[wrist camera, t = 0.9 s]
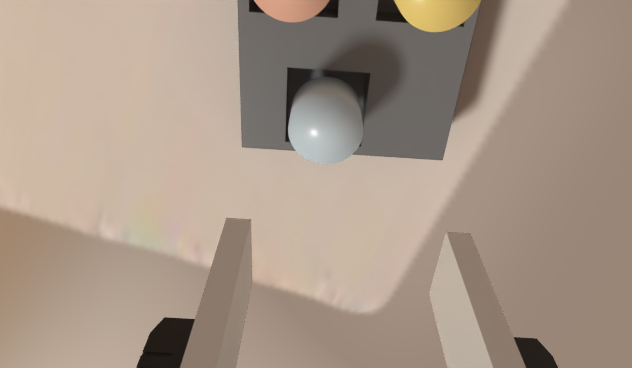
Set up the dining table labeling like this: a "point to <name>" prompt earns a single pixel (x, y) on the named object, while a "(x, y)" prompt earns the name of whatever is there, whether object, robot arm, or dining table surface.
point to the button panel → (354, 74)
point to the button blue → (325, 120)
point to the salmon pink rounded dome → (292, 9)
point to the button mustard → (436, 13)
